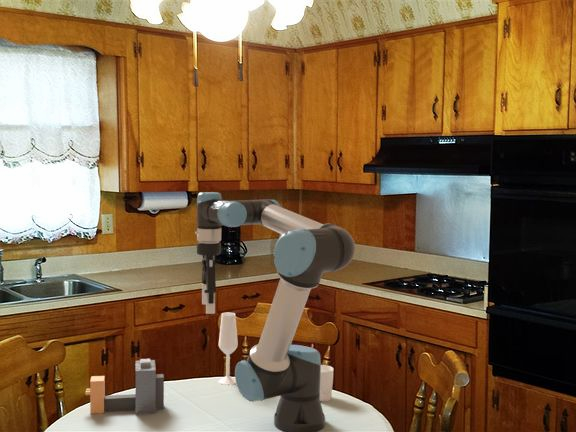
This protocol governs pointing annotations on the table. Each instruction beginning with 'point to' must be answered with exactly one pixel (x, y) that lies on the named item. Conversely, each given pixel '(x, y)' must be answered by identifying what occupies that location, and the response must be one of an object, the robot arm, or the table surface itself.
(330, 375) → the white cup
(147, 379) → the grey u-shaped bracket
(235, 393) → the table surface
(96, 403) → the grey orange-ended bar
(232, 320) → the champagne flute
